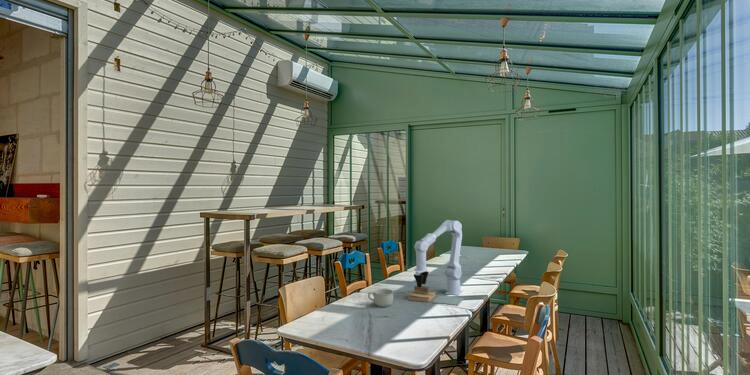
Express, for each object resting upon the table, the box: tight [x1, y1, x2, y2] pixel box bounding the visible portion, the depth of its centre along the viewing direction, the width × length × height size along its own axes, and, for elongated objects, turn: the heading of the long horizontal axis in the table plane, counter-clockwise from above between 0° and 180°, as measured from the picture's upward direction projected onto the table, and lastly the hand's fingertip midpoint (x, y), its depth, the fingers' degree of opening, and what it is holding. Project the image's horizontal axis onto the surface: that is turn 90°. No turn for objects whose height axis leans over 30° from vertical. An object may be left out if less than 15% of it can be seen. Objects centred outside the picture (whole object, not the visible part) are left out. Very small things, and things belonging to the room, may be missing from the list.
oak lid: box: [407, 285, 437, 299], centre depth 227 cm, size 13×13×5 cm
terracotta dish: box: [408, 294, 436, 303], centre depth 227 cm, size 12×12×2 cm
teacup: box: [367, 288, 394, 308], centre depth 214 cm, size 14×11×8 cm
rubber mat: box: [432, 295, 464, 307], centre depth 220 cm, size 14×14×1 cm
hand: (421, 285), depth 227 cm, fingers open, 7 cm apart
